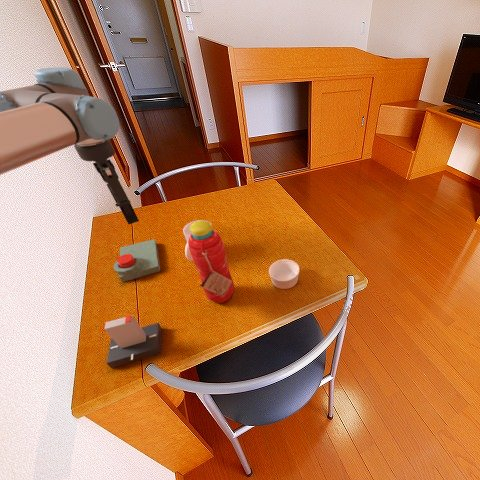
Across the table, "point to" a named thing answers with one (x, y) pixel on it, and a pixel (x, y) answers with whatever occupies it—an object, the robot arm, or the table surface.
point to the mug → (187, 235)
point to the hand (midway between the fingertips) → (127, 211)
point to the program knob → (125, 331)
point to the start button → (126, 261)
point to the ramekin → (284, 273)
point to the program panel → (136, 348)
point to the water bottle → (211, 261)
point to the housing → (139, 260)
